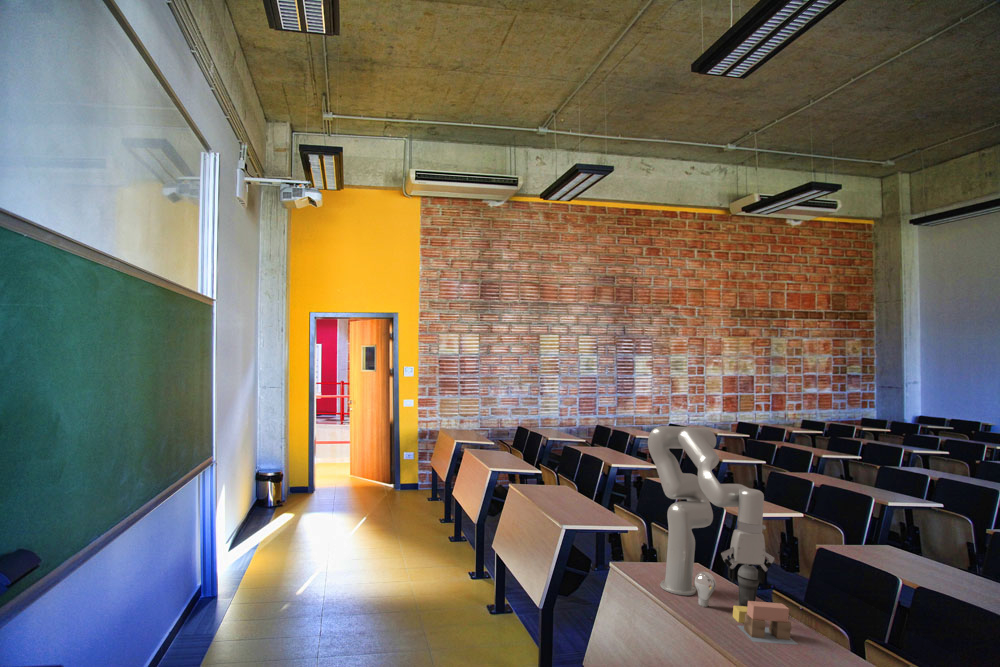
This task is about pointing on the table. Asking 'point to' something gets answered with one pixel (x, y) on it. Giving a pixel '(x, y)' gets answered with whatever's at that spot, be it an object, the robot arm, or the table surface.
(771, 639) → the board
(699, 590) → the light bulb
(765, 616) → the beam
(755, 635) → the block
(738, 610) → the cube
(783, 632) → the pier
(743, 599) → the beverage cup
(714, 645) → the table surface
